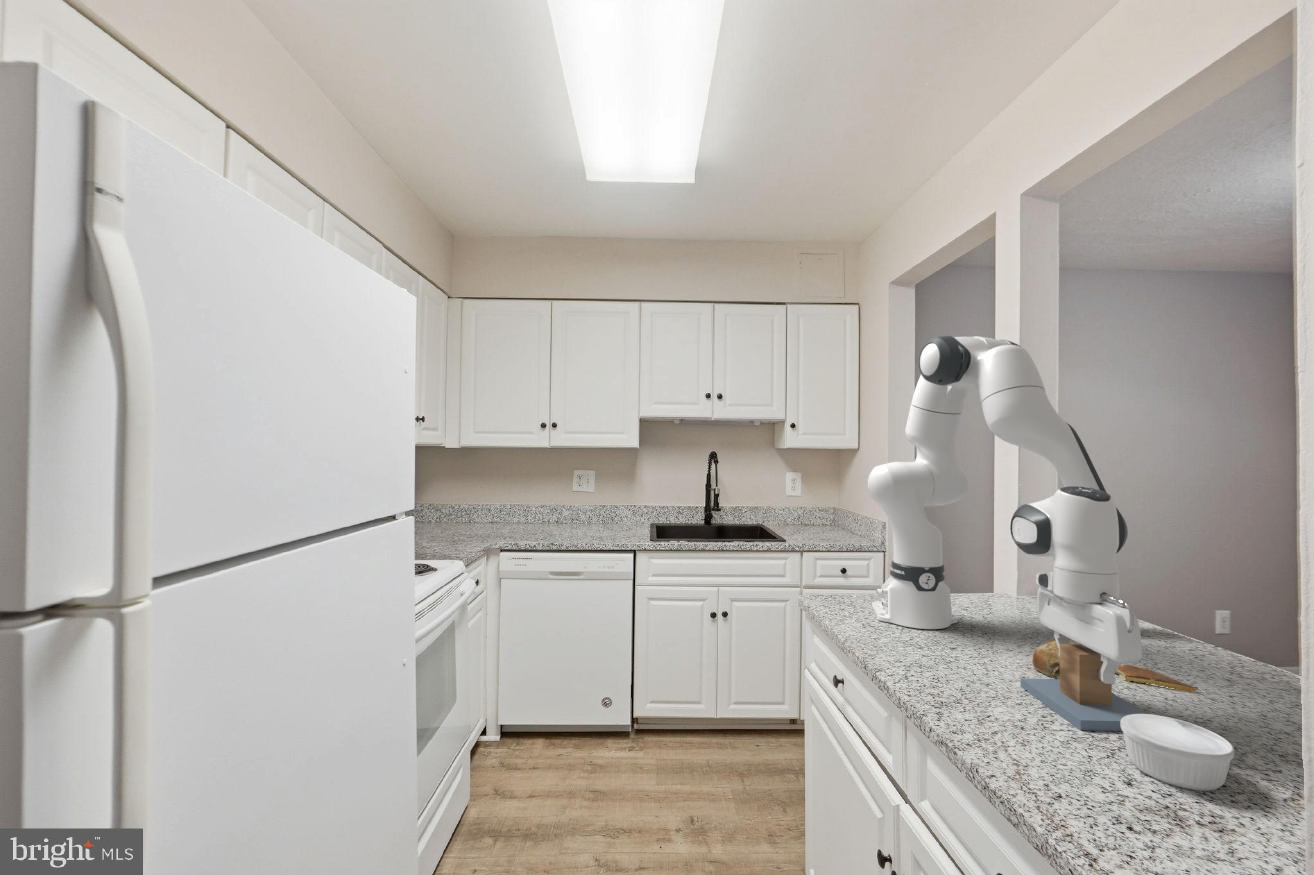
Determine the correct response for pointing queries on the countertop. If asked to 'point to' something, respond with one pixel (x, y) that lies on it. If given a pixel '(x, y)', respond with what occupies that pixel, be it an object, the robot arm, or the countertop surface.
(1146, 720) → the ramekin
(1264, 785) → the countertop surface
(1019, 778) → the countertop surface
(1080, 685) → the walnut block
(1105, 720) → the slate board
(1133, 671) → the shard
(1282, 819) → the countertop surface
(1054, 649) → the bread roll
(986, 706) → the countertop surface
